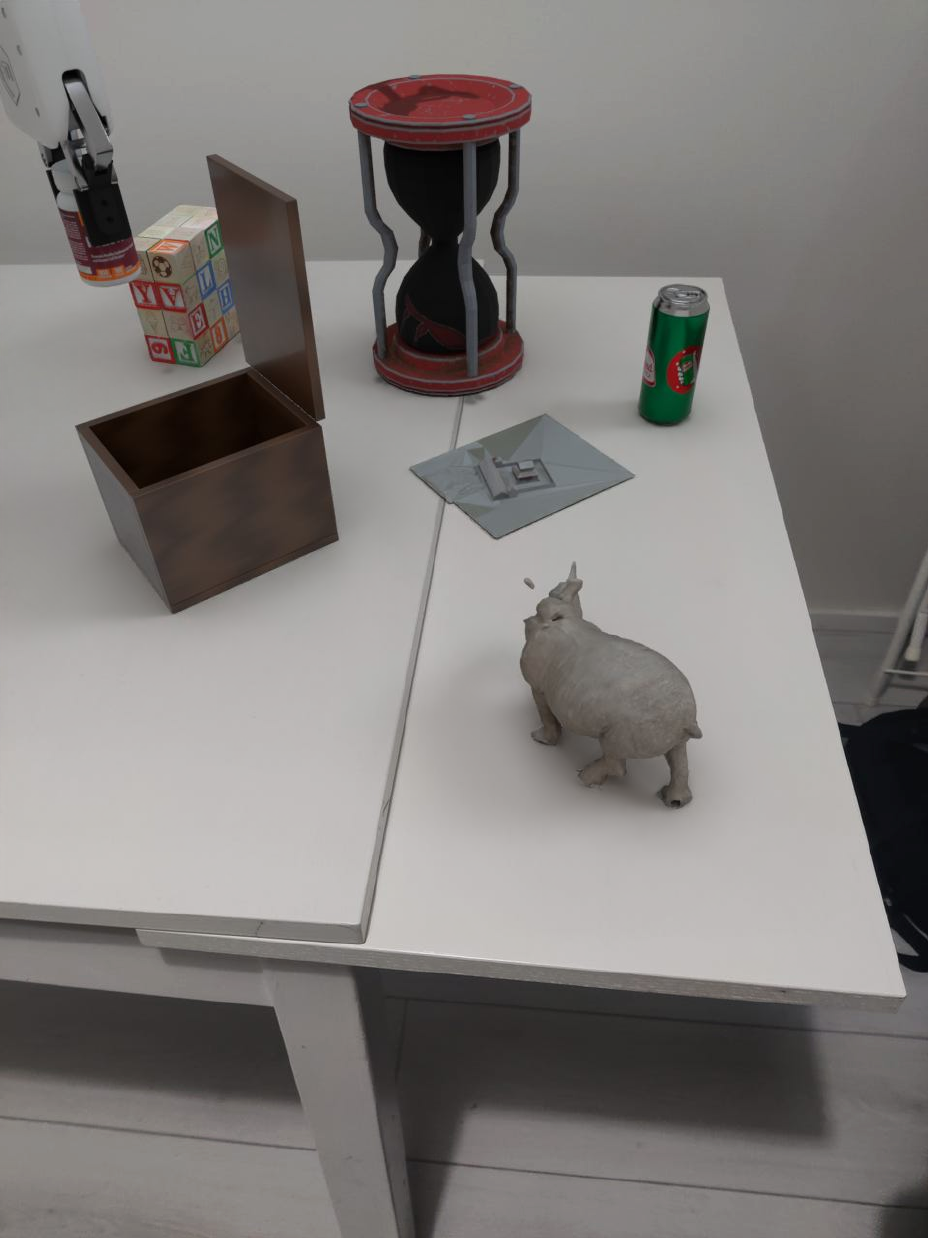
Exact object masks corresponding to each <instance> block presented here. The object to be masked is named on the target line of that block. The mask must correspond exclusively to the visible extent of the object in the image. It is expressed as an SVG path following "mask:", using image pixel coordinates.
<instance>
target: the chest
mask: <svg viewBox="0 0 928 1238" xmlns="http://www.w3.org/2000/svg"><path fill="white" fill-rule="evenodd" d="M74 428H75V430H76V433H77V436H78V438H79V441H80V444H81V446H82V449H83V452H84V455H85V457H86V460H87V463H88V466H89V467H90V471H91V473H92V476H93V478H94V481H95V484H96V487H97V489H98V492H99V494H100V497H101V500H102V502H103V505H104V507H105V511H106V513H107V515H108V518H109V520H110V524H111V526H112V529H113V531H114V534H115V536H116V539H117V540H118V541H119V543H120V544H121V545H122V547H123V548H124V550H125V551H126V553H127V554H128V556H129V557H130V558H131V559H132V561H133V562H134V563H135V565H136V566H137V568H138V569H139V570H140V572H142V574H143V576H144V577H145V578H146V580H147V581H148V583H149V584H150V585H151V586H152V588H153V589H154V590H155V592H156V593H157V595H158V596H159V597H160V599H161V600H162V601H163V603H164V604H165V605H166V607H167V608H168V609H169V611H170V612H171V614H172V615H174V614H176V613H179V612H181V611H183V610H185V609H188V608H189V607H192V606H194V605H197V604H199V603H201V602H204V601H205V600H207V599H210V598H212V597H214V596H216V595H219V594H222V593H223V592H225V591H228V590H230V589H232V588H234V587H237V586H239V585H241V584H243V583H246V582H247V581H250V580H252V579H254V578H256V577H258V576H261V575H263V574H265V573H268V572H269V571H272V570H274V569H276V568H279V567H281V566H283V565H285V564H288V563H289V562H292V561H294V560H296V559H298V558H301V557H303V556H306V555H307V554H309V553H312V552H314V551H316V550H319V549H320V548H322V547H326V546H327V545H330V544H332V543H334V542H337V541H338V540H339V532H338V525H337V519H336V512H335V505H334V500H333V493H332V492H333V491H332V486H331V478H330V472H329V465H328V459H327V453H326V452H327V451H326V446H325V445H326V444H325V439H324V438H325V437H324V431H323V426H322V425H321V424H320V423H319V422H318V421H315V420H314V419H313V418H312V417H310V416H309V415H308V414H307V413H306V412H305V411H303V410H302V409H301V408H300V407H299V406H297V405H296V404H295V403H294V402H293V401H292V400H290V399H289V398H288V397H287V396H286V395H284V394H283V393H282V392H281V391H280V390H278V389H277V388H276V387H275V386H274V385H273V384H271V383H270V382H269V381H268V380H267V379H265V378H264V377H263V376H262V375H261V374H260V373H258V372H257V371H256V370H255V369H254V368H252V367H251V366H250V365H249V366H246V367H244V368H240V369H238V370H235V371H233V372H229V373H227V374H224V375H221V376H218V377H215V378H211V379H209V380H205V381H203V382H199V383H197V384H194V385H191V386H188V387H185V388H182V389H179V390H176V391H173V392H170V393H167V394H164V395H161V396H158V397H156V398H153V399H149V400H146V401H145V402H144V401H143V402H141V403H137V404H135V405H132V406H129V407H126V408H123V409H119V410H116V411H113V412H111V413H108V414H104V415H102V416H98V417H96V418H94V419H90V420H88V421H84V422H82V423H79V424H76V425H75V424H74Z"/></svg>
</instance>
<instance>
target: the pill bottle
mask: <svg viewBox="0 0 928 1238" xmlns="http://www.w3.org/2000/svg"><path fill="white" fill-rule="evenodd" d="M78 159H79V162H80V165H81V164H82V163H81V160H82V157H78ZM50 169H51V171H52V174H53V178H54V181H55V185H56V186H57V188H58V190H60V192H59V194H58V196H57V204H56V207H57V206H58V207H57V209H58V213H59V212H60V213H59V216H60V215H61V216H60V219H61V218H62V219H61V221H62V224H63V227H64V230H65V234H66V236H67V240H68V243H69V246H70V249H71V252H72V256H73V258H74V262H75V265H76V268H77V272H78V274H79V277H80V280H81V281H82V282H83V283H85V285H88V286H90V287H95V288H111V287H117V286H122V285H125V284H129V282H131V281H133V280H135V279H136V278H137V277H138V276H139V275H140V273H141V267H140V263H139V259H138V255H137V251H136V248H135V244H134V240H133V238H134V237H133V234H132V235H131V237H130V238H128V239H125V240H121V241H117V242H113V243H110V244H106V245H102V246H98V247H95V246H93V245H92V244H90V243H89V241H88V238H87V235H86V231H85V228H84V225H83V222H82V219H81V216H80V212H79V209H78V206H77V203H76V200H75V196H74V193H73V190H74V189H78V188H77V186H76V184H75V181H74V179H73V176H72V173H71V171H70V168H69V165H68V163H67V160H66V159H65V160H61V161H59V162H57V163H55V164H53V165H52V167H51V168H50Z"/></svg>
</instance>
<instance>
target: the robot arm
mask: <svg viewBox="0 0 928 1238" xmlns="http://www.w3.org/2000/svg"><path fill="white" fill-rule="evenodd" d="M93 43H94V42H93V40H92V37H91V34H90V31H89V27H88V24H87V21H86V18H85V14H84V12H83V9H82V6H81V2H80V0H0V100H1V104H2V107H3V109H4V112H5V115H6V117H7V119H8V120H9V122H10V123H11V124H12V125H13V126H14V127H16V128H17V129H18V130H20V131H21V132H23V133H24V134H26V135H27V136H28V137H30V138H31V139H34V141H36V142H37V146H38V150H39V154H40V158H41V160H42V162H43V165H44V167H45V168H46V170H45V173H46V176H47V179H48V182H49V185H50V189H51V192H52V194H53V197H54V200H55V201H54V202H56V207H57V208H58V206H57V196H58V194H59V192H60V190H58V188H57V186H56V185H55V181H54V178H53V174H52V171H51V167H52V165H53V164H55V163H57V162H59V161H61V160H65V159H66V160H67V163H68V165H69V168H70V171H71V173H72V176H73V179H74V181H75V184H76V186H77V188H78V189H74V190H73V193H74V196H75V200H76V203H77V206H78V209H79V212H80V216H81V219H82V222H83V225H84V228H85V231H86V235H87V238H88V241H89V243H90V244H92V245H93V246H95V247H98V246H102V245H106V244H110V243H113V242H117V241H121V240H125V239H128V238H130V237H131V235H132V236H133V231H132V228H131V225H130V220H129V218H128V213H127V210H126V207H125V202H124V199H123V196H122V192H121V188H120V186H119V179H118V175H117V172H116V169H115V166H114V159H113V156H114V147H113V144H112V141H111V139H110V136H111V135H112V134H113V131H114V129H115V124H114V123H115V122H114V117H113V113H112V109H111V104H110V101H109V96H108V93H107V88H106V84H105V81H104V76H103V74H102V70H101V66H100V64H99V59H98V56H97V53H96V50H95V47H94V44H93ZM78 130H80V132H81V135H82V137H79V134H78ZM82 149H85V150H86V153H82ZM78 157H82V160H81V163H82V164H81V165H80V162H79V159H78ZM58 213H59V216H60V219H61V220H62V218H61V215H60V212H59V211H58Z"/></svg>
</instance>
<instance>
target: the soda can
mask: <svg viewBox="0 0 928 1238" xmlns="http://www.w3.org/2000/svg"><path fill="white" fill-rule="evenodd" d="M708 298H709V295H708V292H707V290H705V288H702V287H700V286H697V285H694V284H688V283H671V284H667V285H664V286H661V288H659V290H658V291H657V296H656V297H655V298H654V300H653V301H652V303H651V311H650V316H649V318H650V319H649V324H648V333H647V339H646V345H645V346H646V347H645V354H644V361H643V368H642V369H643V370H642V375H641V384H640V391H639V398H638V405H637V406H638V407H637V408H638V411H639V412H640V414H641V416H643V417H644V418H645V419H646V420H648V421H650V422H652V423H655V424H657V425H658V424H659V425H674V424H678V423H681V422H682V421H684V420H685V419H687V417H689V416H690V415H691V413H692V409H693V404H694V397H695V392H696V387H697V380H698V376H699V370H700V365H701V359H702V354H703V348H704V343H705V337H706V333H707V327H708V322H709V318H710V317H709V316H710V311H711V305H710V303H709V301H708V300H709V299H708Z"/></svg>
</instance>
